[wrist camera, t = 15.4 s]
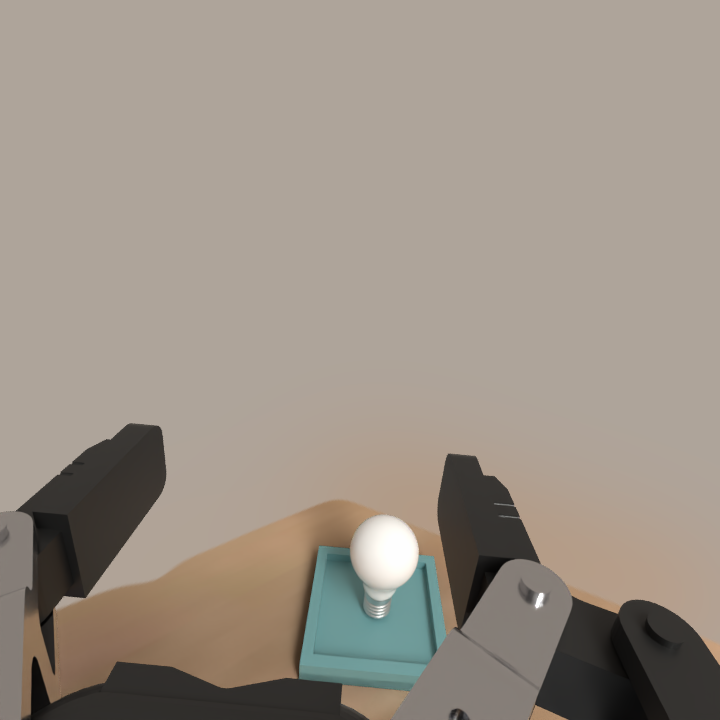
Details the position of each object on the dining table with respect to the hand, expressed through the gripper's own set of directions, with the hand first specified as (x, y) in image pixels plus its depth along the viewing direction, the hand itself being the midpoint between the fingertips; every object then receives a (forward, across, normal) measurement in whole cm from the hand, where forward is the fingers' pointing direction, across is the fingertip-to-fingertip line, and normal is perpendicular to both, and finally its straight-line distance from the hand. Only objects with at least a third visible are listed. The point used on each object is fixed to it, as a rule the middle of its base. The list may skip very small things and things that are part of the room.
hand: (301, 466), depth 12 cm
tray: (+20, -5, +32) cm, 38 cm away
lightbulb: (+20, -5, +31) cm, 37 cm away
